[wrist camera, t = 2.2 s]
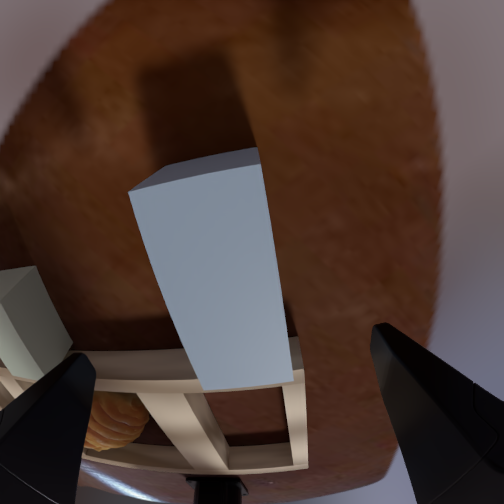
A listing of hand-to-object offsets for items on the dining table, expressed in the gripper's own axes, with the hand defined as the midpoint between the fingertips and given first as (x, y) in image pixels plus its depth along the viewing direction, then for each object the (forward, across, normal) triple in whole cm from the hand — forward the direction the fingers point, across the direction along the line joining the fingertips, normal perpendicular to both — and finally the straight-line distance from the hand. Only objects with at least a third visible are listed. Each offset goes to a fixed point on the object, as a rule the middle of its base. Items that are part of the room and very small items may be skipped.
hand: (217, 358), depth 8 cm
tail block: (+7, +14, +2) cm, 16 cm away
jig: (+7, +13, +13) cm, 19 cm away
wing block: (+7, 0, 0) cm, 7 cm away
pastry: (+7, +13, +12) cm, 20 cm away
